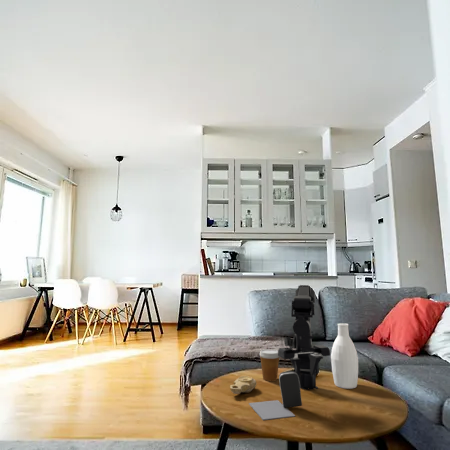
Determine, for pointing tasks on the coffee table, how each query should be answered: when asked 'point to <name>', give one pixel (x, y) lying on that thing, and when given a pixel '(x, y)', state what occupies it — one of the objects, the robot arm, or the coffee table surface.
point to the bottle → (344, 359)
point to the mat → (271, 410)
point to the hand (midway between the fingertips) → (305, 376)
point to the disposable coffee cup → (269, 364)
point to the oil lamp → (243, 385)
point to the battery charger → (290, 389)
